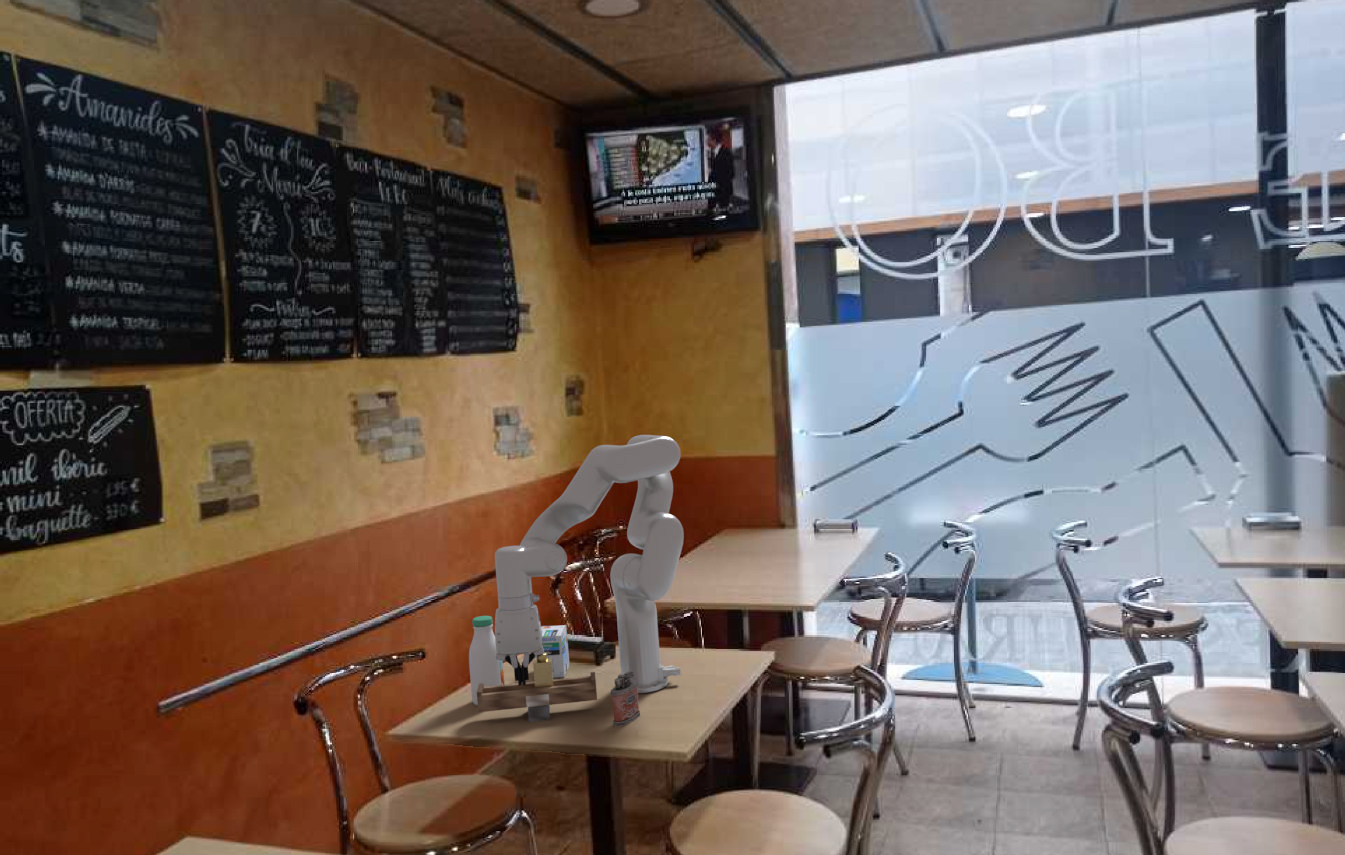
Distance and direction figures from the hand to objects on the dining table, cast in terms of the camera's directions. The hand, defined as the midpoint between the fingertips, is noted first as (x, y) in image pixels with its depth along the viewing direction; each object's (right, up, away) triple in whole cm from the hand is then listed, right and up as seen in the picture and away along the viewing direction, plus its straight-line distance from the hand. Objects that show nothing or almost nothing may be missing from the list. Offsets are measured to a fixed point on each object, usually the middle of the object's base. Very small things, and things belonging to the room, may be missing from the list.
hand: (522, 683), depth 222 cm
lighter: (+24, -7, -6) cm, 25 cm away
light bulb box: (+3, -6, +32) cm, 33 cm away
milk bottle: (-10, -8, +13) cm, 18 cm away
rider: (+5, -1, +1) cm, 5 cm away
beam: (+4, -7, +1) cm, 8 cm away
